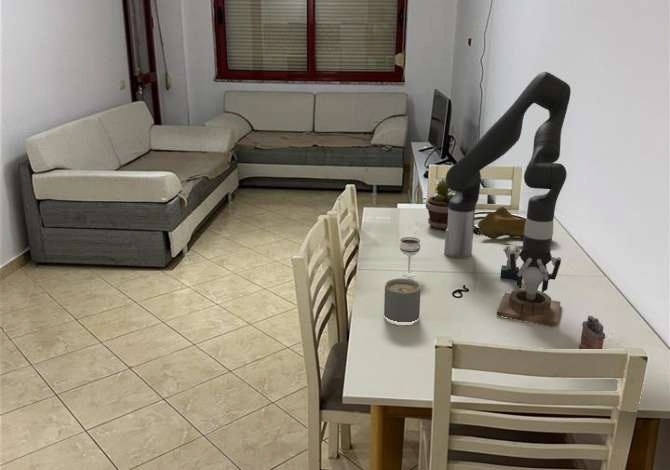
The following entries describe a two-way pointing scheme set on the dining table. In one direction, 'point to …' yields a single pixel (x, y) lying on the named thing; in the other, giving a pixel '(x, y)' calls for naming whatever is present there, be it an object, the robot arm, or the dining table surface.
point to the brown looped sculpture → (501, 224)
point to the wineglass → (409, 247)
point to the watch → (507, 269)
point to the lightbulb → (532, 281)
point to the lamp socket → (529, 308)
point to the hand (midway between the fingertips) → (531, 288)
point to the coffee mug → (402, 300)
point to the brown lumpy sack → (592, 334)
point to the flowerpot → (439, 207)
